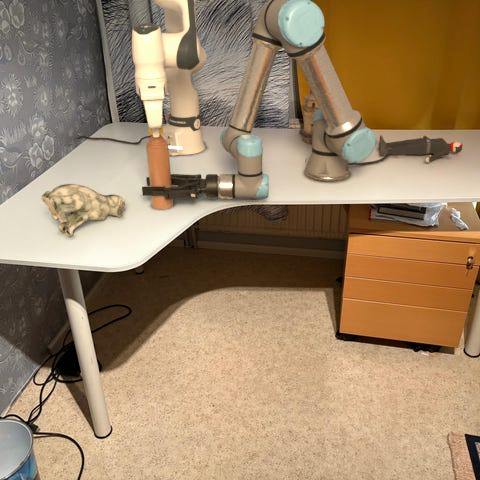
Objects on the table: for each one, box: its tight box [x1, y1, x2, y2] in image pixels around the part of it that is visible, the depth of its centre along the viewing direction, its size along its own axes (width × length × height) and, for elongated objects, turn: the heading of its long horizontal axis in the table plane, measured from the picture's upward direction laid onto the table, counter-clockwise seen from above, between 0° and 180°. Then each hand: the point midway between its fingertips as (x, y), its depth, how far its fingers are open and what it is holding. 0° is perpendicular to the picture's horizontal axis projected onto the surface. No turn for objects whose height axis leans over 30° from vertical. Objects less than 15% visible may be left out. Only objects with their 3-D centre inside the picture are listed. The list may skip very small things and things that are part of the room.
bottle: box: [145, 135, 174, 210], centre depth 163 cm, size 7×7×25 cm
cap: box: [148, 125, 164, 136], centre depth 157 cm, size 4×4×2 cm
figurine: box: [40, 183, 126, 238], centre depth 153 cm, size 10×19×20 cm
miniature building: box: [298, 88, 320, 144], centre depth 213 cm, size 13×14×30 cm
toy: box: [378, 134, 464, 163], centre depth 203 cm, size 26×6×30 cm
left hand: (156, 133), depth 158 cm, fingers closed on cap, 4 cm apart
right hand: (144, 186), depth 166 cm, fingers closed on bottle, 7 cm apart
